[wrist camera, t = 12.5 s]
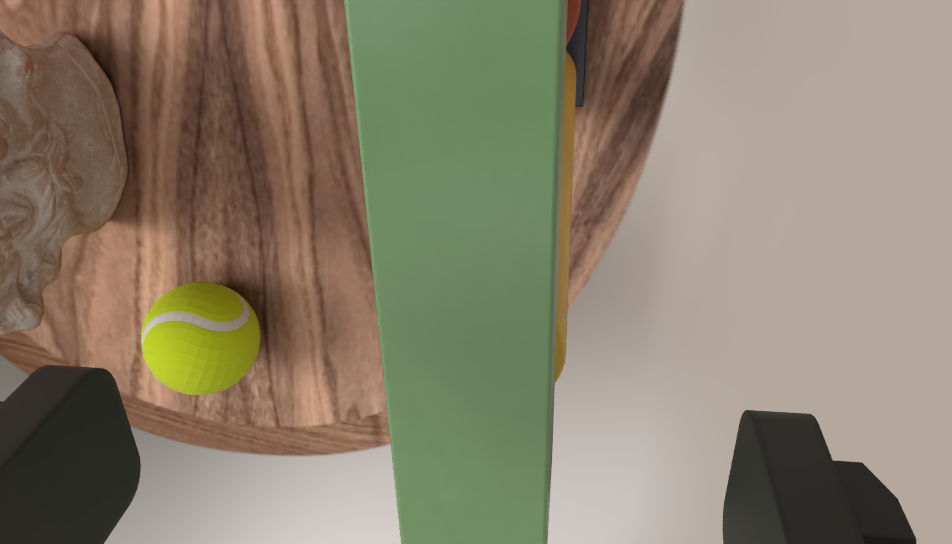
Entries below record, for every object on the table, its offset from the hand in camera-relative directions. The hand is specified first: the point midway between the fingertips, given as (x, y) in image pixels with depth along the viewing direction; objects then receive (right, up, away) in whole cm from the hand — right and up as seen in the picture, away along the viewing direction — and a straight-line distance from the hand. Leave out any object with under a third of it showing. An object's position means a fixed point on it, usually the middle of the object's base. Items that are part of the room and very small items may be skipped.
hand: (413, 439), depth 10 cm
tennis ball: (-15, 0, +39) cm, 42 cm away
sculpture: (-21, +11, +34) cm, 41 cm away
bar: (+1, +4, +6) cm, 7 cm away
